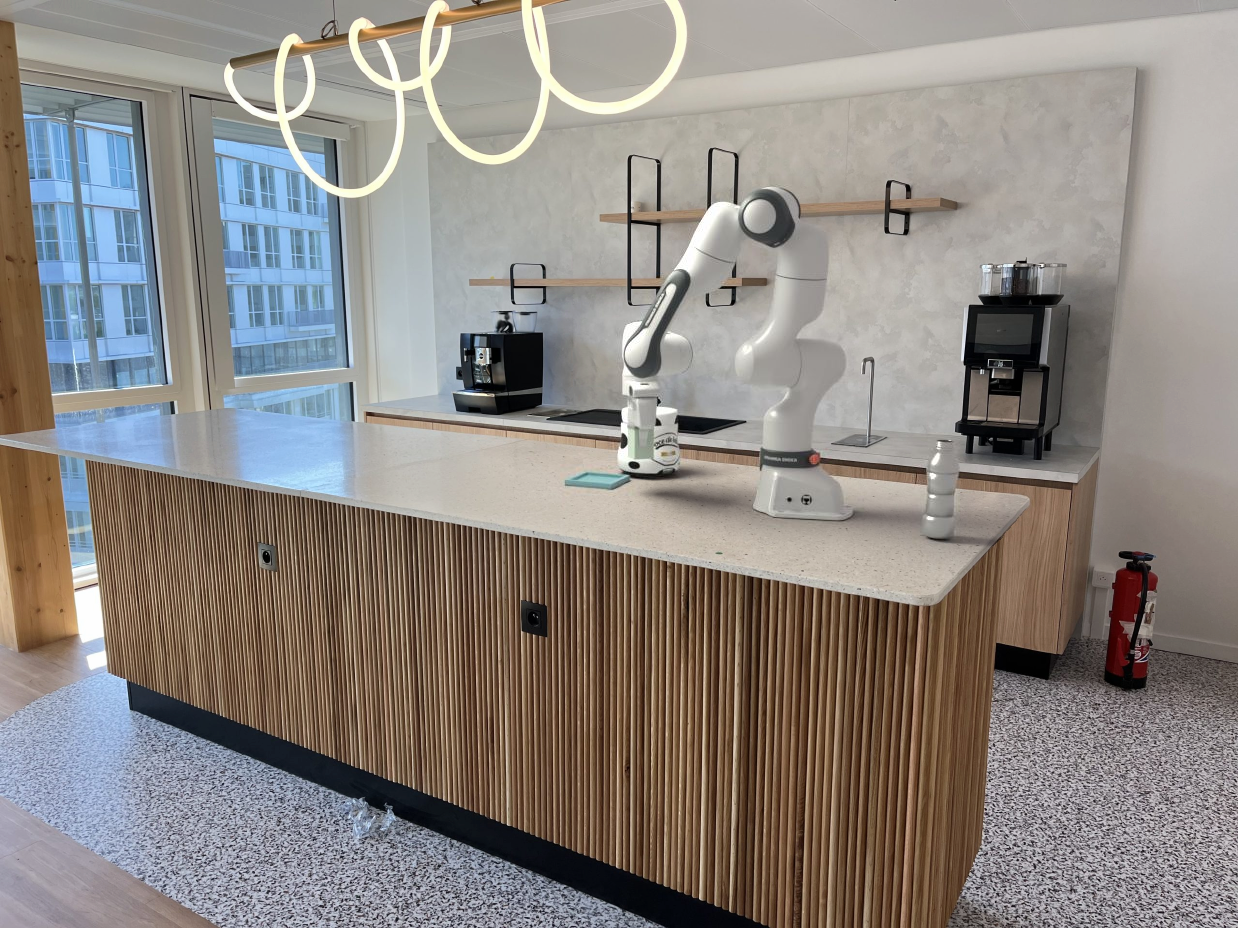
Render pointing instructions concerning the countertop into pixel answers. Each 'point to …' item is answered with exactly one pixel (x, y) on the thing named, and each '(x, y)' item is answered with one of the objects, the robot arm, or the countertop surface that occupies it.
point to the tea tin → (635, 449)
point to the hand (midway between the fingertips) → (640, 444)
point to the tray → (597, 480)
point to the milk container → (664, 446)
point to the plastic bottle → (941, 491)
